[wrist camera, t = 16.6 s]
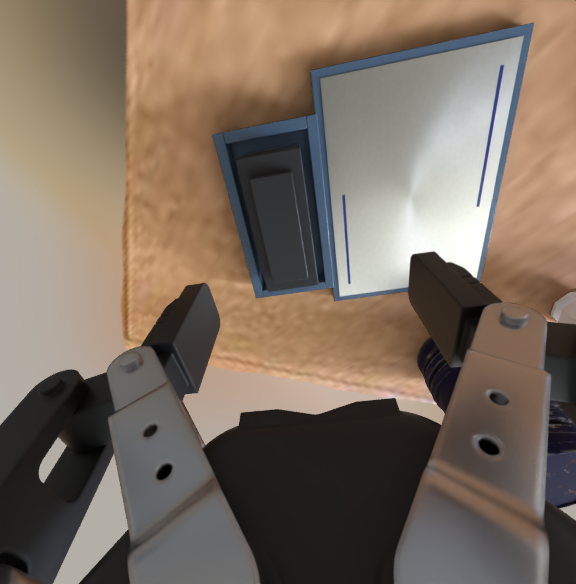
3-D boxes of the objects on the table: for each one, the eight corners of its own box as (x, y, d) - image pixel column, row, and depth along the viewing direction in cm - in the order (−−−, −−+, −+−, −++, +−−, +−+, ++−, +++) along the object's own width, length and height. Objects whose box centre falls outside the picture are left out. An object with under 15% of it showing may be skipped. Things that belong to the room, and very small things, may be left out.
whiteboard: (309, 72, 21) (310, 69, 20) (524, 26, 20) (536, 21, 19) (333, 296, 31) (334, 302, 30) (475, 276, 30) (481, 282, 29)
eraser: (243, 153, 23) (232, 161, 19) (298, 143, 23) (300, 148, 19) (270, 272, 29) (266, 298, 25) (315, 265, 28) (319, 290, 24)
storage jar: (469, 308, 32) (587, 433, 19) (515, 349, 35) (643, 481, 22) (399, 358, 36) (459, 489, 23) (446, 391, 39) (521, 523, 27)
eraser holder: (219, 133, 23) (212, 134, 21) (314, 114, 23) (316, 113, 20) (258, 285, 31) (256, 298, 29) (331, 275, 30) (334, 287, 28)
